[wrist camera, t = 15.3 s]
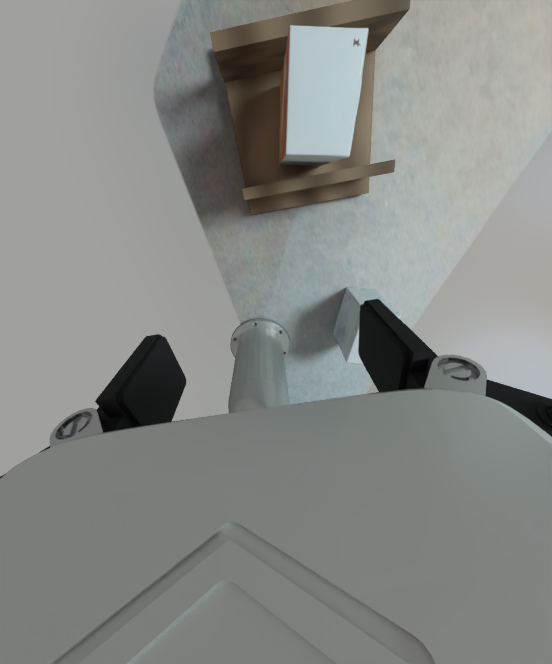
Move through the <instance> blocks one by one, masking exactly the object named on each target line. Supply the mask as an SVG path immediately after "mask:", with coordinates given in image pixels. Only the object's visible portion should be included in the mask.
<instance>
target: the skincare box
mask: <svg viewBox="0 0 552 664" xmlns="http://www.w3.org/2000/svg"><path fill="white" fill-rule="evenodd" d="M372 299H379V300H380V301H381V302H382V303H383V304H384V305H385V306H387V307H388V308H389V309H390V310H391V311H392V312H393V313H394V314H395V315H396V316H397V317H398V318H399V319H400V317H401V315H400V314H399V313H398V312H397V311H396V310H395V309H394V308H393V307H392V306H391V305H390V304H389V303H388V302H387V301H386V300H385V299H384V298H383V297H382V296H381V295H380V294H379V293H378V292H377V291H376V290H369V289H360V288H350V287H347V288H346V291H345V294H344V297H343V301H342V304H341V307H340V311H339V314H338V317H337V321H336V324H335V328H334V331H333V333H334V335H335V337H336V339H337V342H338V344H339V346H340V349H341V351H342V353H343V355H344V358H345V360H346V363H352V364H363V363H362V361H361V359H360V357H359V353H358V346H359V321H360V305H361V304H364V302H365V301H366V300H372Z"/></svg>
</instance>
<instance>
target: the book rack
mask: <svg viewBox="0 0 552 664" xmlns="http://www.w3.org/2000/svg"><path fill="white" fill-rule="evenodd" d="M409 8H410V0H353V1H348V2H344V3H339V4H335V5H330V6H326V7H321V8H317V9H313V10H308V11H304V12H299V13H295V14H290V15H286V16H281V17H277V18H272V19H268V20H263V21H259V22H254V23H250V24H245V25H241V26H237V27H232V28H228V29H223V30H219V31H214V32H210V35H211V40H212V45H213V50H214V53H215V56H216V59H217V62H218V64H219V67H220V70H221V72H222V75H223V78H224V80H225V84H226V89H227V94H228V99H229V104H230V109H231V114H232V120H233V125H234V130H235V135H236V140H237V145H238V150H239V155H240V161H241V166H242V171H243V176H244V181H245V186H246V188H243V189H242V192H243V197H244V200H248V201H249V207H250V212H251V215H252V214H257V213H263V212H268V211H274V210H279V209H284V208H290V207H295V206H301V205H306V204H312V203H317V202H322V201H328V200H333V199H339V198H344V197H349V196H355V195H360V194H366V193H369V177H371V176H376V175H381V174H387V173H392V172H394V167H395V160H390V161H385V162H380V163H375V164H370V152H371V131H372V110H373V89H374V68H375V50H376V49H377V48H378V47H379V45H380V44H381V43H382V42H383V40H384V39H385V38H386V37H387V36H388V34H389V33H390V32H391V31H392V30H393V28H394V27H395V26H396V25H397V24H398V22H399V21H400V20H401V19H402V17H403V16H404V15H405V14H406V13H407V11H408V10H409ZM290 25H294V26H316V27H342V28H368V38H367V45H366V52H365V59H364V66H363V74H362V84H361V91H360V98H359V104H358V109H357V115H356V121H355V127H354V134H353V140H352V146H351V152H350V156H349V157H348V158H344V159H340V160H337V161H334V162H331V163H328V164H325V165H322V166H315V165H280V164H279V136H280V81H281V75H282V70H283V63H284V57H285V51H286V45H287V38H288V31H289V26H290Z"/></svg>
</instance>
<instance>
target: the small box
mask: <svg viewBox="0 0 552 664" xmlns="http://www.w3.org/2000/svg"><path fill="white" fill-rule="evenodd" d="M367 38H368V28H342V27H316V26H294V25H290V26H289V31H288V38H287V45H286V51H285V57H284V63H283V70H282V75H281V81H280V136H279V164H280V165H315V166H322V165H325V164H328V163H331V162H334V161H337V160H340V159H344V158H348V157H349V156H350V152H351V146H352V140H353V134H354V127H355V121H356V115H357V109H358V104H359V98H360V91H361V84H362V74H363V66H364V59H365V52H366V45H367Z"/></svg>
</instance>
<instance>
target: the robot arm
mask: <svg viewBox="0 0 552 664" xmlns="http://www.w3.org/2000/svg"><path fill="white" fill-rule="evenodd" d="M230 345H231V351H232V353H233V355H234V357H235V358H236V359H235V365H234V372H233V377H232V383H231V389H230V396H229V403H228V409H229V414H222V415H215V416H208V417H201V418H194V419H187V420H181V421H174V422H171V421H172V418H173V416H174V413H175V411H176V408H177V406H178V403H179V400H180V398H181V395H182V393H183V390H184V388H185V385H186V378H185V376H184V373H183V371H182V369H181V367H180V366H179V364H178V361H177V360H176V357H175V355H174V354H173V351H172V349H171V347H170V345H169V343H168V342H167V339H166V338H165V337H162V336H161V335H159V334H158V335H151V336H146V337H145V338H144V340H143V341H142V342H141V344H140V345H139V346H138V347H137V348H136V350H135V351H134V352H133V354H132V355H131V356H130V358H129V359H128V360H127V361H126V363H125V364H124V365H123V366H122V368H121V369H120V370H119V371H118V373H117V374H116V375H115V377H114V378H113V379H112V380H111V382H110V383H109V384H108V385H107V387H106V388H105V390H104V391H103V392H102V393H101V394H100V396H99V397H98V398H97V400H96V401H95V402H96V403H97V404H98V405H99V408H98V409H97V410H96V409H93V408H88V409H83V410H80V411H78V412H76V413H74V414H72V415H70V416H69V417H67V418H66V419H64V420H63V421H62V422H61V423H60V424H59V425H58V426H57V427H56V428H55V429H54V430H53V432H52V434H51V436H50V446H49V447H47V448H46V449H44V450H42V451H41V452H39V453H38V454H36V455H34V456H32V457H30V458H28V459H27V460H25V461H23V462H21V463H20V464H18V465H16V466H15V467H13V468H12V469H11V470H10V471H8V472H7V473H6V474H4V475H3V476H1V477H0V664H552V399H550V398H546V397H543V396H539V395H536V394H533V393H530V392H526V391H523V390H520V389H516V388H513V387H510V386H507V385H503V384H500V383H497V382H493V381H490V380H487V375H486V371H485V370H484V368H483V367H482V366H481V365H479V364H478V363H476V362H475V361H473V360H471V359H468V358H465V357H462V356H457V355H442V356H437V355H436V354H435V353H434V352H433V351H432V350H431V349H430V348H429V347H428V346H427V345H426V344H425V343H424V342H423V341H422V340H421V339H420V338H419V337H417V335H416V334H415V333H414V332H413V331H412V330H410V329H409V328H408V327H407V326H406V325H405V324H404V323H403V322H402V321H401V320H400V319H399V318H398V317H397V316H396V315H395V314H394V313H393V312H392V311H391V310H390V309H389V308H388V307H387V306H385V305H384V304H383V303H382V302H381V301H380V300H379V299H372V300H366V301H365V302H364V304H361V305H360V321H359V346H358V353H359V357H360V359H361V361H362V363H363V364H364V366H365V368H366V370H367V371H368V373H369V375H370V377H371V379H372V380H373V382H374V384H375V385H376V387H377V389H378V391H379V392H377V393H369V394H362V395H355V396H348V397H341V398H334V399H326V400H319V401H312V402H305V403H298V404H291V405H290V404H289V396H288V387H287V379H286V370H285V362H284V358H285V357H286V356H287V354H288V351H289V347H290V343H289V337H288V335H287V333H286V331H285V330H284V328H283V327H281V326H280V325H279V324H277V323H276V322H274V321H271V320H267V319H252V320H249V321H246V322H244V323H242V324H241V325H240V326H238V327H237V329H236V330H235V331H234V333H233V335H232V338H231V344H230Z"/></svg>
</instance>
